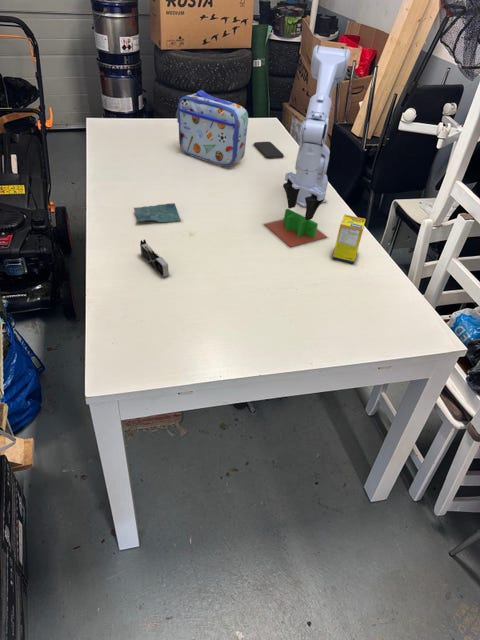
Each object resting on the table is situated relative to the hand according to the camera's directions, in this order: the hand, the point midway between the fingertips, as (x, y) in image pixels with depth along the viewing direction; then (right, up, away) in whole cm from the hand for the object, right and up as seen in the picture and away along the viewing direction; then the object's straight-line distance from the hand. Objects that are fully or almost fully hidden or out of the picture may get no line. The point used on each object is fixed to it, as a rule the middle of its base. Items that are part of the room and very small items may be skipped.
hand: (299, 213), depth 131 cm
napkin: (-1, -4, +5) cm, 6 cm away
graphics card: (-39, -17, -13) cm, 44 cm away
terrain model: (-42, 0, +5) cm, 42 cm away
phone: (-6, +36, +50) cm, 62 cm away
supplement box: (+12, -13, -4) cm, 18 cm away
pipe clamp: (-1, -5, +4) cm, 6 cm away
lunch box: (-29, +30, +41) cm, 58 cm away
